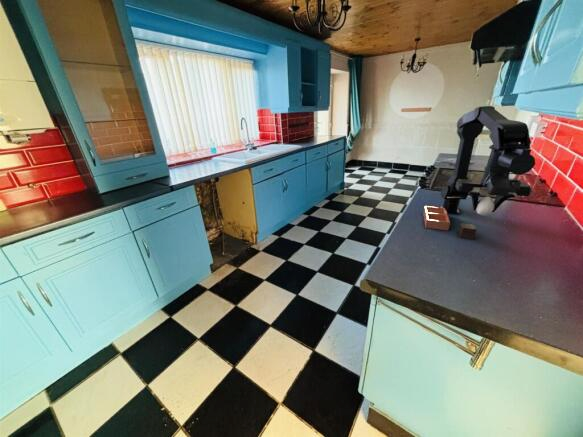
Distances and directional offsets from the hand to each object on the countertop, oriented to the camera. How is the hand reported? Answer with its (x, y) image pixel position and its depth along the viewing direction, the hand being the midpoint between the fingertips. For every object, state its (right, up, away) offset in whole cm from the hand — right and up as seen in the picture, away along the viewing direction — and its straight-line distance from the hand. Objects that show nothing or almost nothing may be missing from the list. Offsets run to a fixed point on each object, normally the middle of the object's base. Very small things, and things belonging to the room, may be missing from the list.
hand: (483, 210), depth 81 cm
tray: (-6, -4, +17) cm, 19 cm away
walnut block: (-2, -9, +5) cm, 11 cm away
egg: (0, -2, +1) cm, 2 cm away
